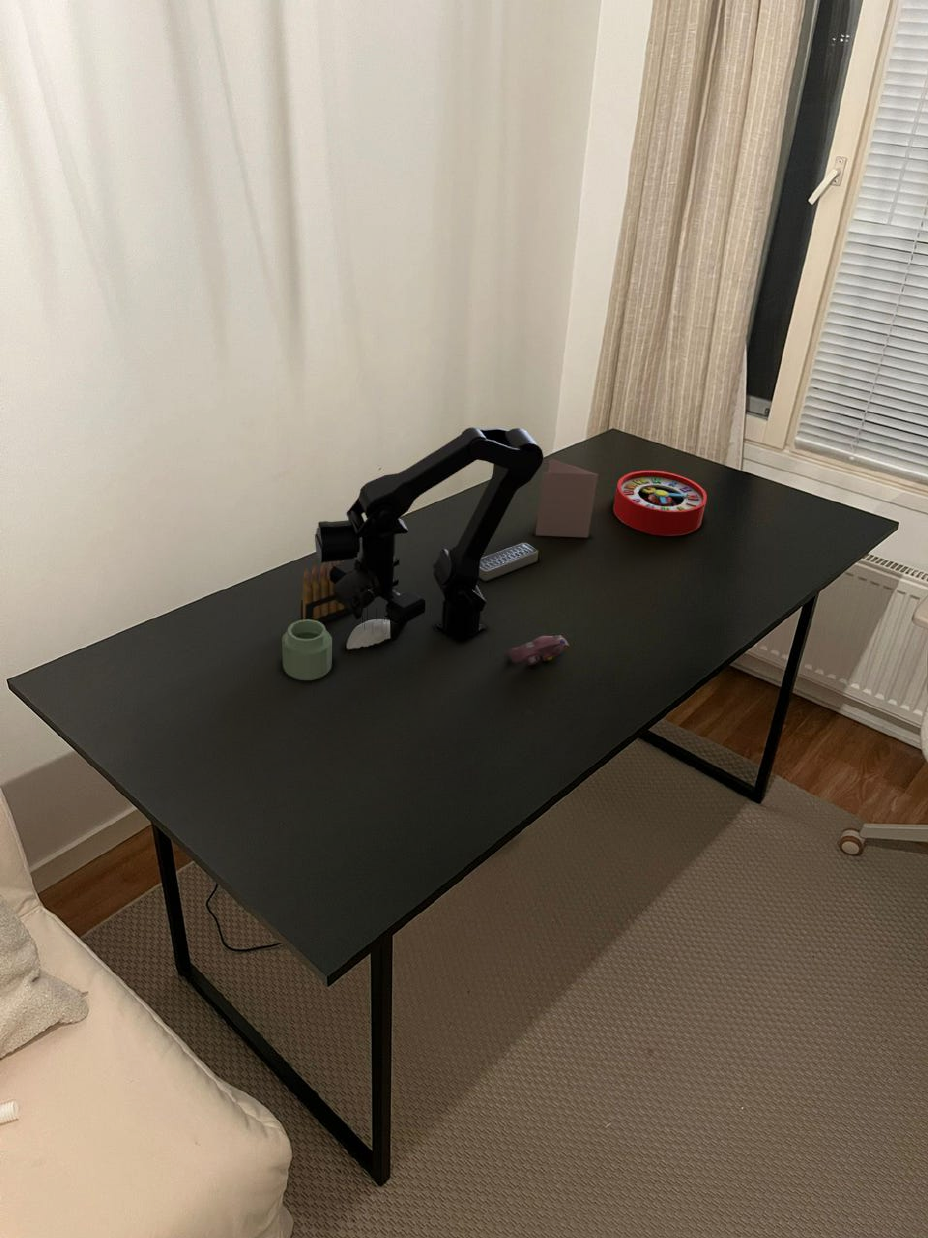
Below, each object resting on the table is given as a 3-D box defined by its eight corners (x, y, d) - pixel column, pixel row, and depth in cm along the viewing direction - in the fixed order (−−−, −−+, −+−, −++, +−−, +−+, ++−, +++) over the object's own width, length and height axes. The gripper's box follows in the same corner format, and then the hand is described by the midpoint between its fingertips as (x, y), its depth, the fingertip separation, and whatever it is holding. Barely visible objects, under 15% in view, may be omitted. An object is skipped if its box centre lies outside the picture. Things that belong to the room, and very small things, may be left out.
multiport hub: (470, 571, 201) (471, 561, 199) (523, 551, 209) (524, 541, 208) (484, 581, 198) (485, 571, 197) (538, 560, 206) (539, 550, 205)
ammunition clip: (305, 628, 181) (304, 572, 174) (300, 623, 182) (299, 567, 175) (355, 610, 186) (355, 555, 180) (349, 605, 188) (350, 550, 181)
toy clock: (612, 467, 232) (698, 473, 232) (608, 490, 235) (693, 496, 236) (622, 508, 215) (714, 515, 216) (618, 532, 219) (708, 538, 219)
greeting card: (589, 535, 216) (599, 473, 208) (573, 549, 211) (583, 485, 203) (543, 519, 221) (551, 457, 213) (527, 532, 216) (534, 469, 207)
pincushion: (391, 620, 185) (392, 594, 181) (411, 635, 181) (413, 610, 178) (337, 641, 178) (337, 615, 175) (357, 658, 174) (357, 632, 171)
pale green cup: (341, 666, 172) (341, 631, 168) (304, 686, 167) (303, 650, 163) (310, 645, 176) (309, 610, 172) (273, 664, 171) (271, 628, 167)
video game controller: (515, 676, 176) (527, 657, 170) (504, 654, 178) (517, 635, 172) (562, 663, 180) (576, 645, 174) (552, 642, 182) (565, 623, 176)
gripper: (305, 548, 169) (306, 624, 178) (381, 594, 159) (378, 671, 168) (354, 527, 176) (353, 601, 185) (429, 570, 167) (425, 645, 175)
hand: (375, 629), depth 178 cm, fingers open, 9 cm apart
